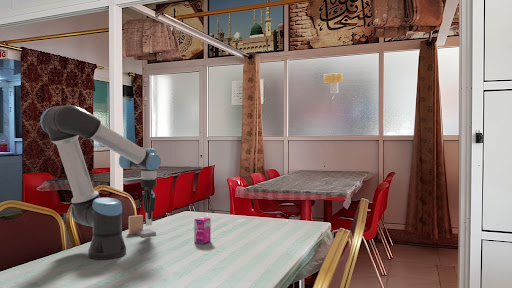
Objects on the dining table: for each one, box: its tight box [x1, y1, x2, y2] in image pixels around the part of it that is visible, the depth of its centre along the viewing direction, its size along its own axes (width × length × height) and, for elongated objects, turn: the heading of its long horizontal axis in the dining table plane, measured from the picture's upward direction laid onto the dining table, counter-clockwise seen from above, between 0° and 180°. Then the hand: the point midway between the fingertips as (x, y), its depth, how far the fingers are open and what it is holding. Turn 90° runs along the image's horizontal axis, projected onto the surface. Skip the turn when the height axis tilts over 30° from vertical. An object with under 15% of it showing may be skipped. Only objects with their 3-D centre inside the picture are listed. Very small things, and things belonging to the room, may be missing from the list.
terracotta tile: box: [128, 214, 144, 235], centre depth 207 cm, size 7×2×9 cm, turn 128°
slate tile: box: [136, 228, 157, 238], centre depth 204 cm, size 7×2×9 cm
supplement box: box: [193, 216, 212, 245], centre depth 188 cm, size 6×6×12 cm
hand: (148, 225), depth 201 cm, fingers closed
